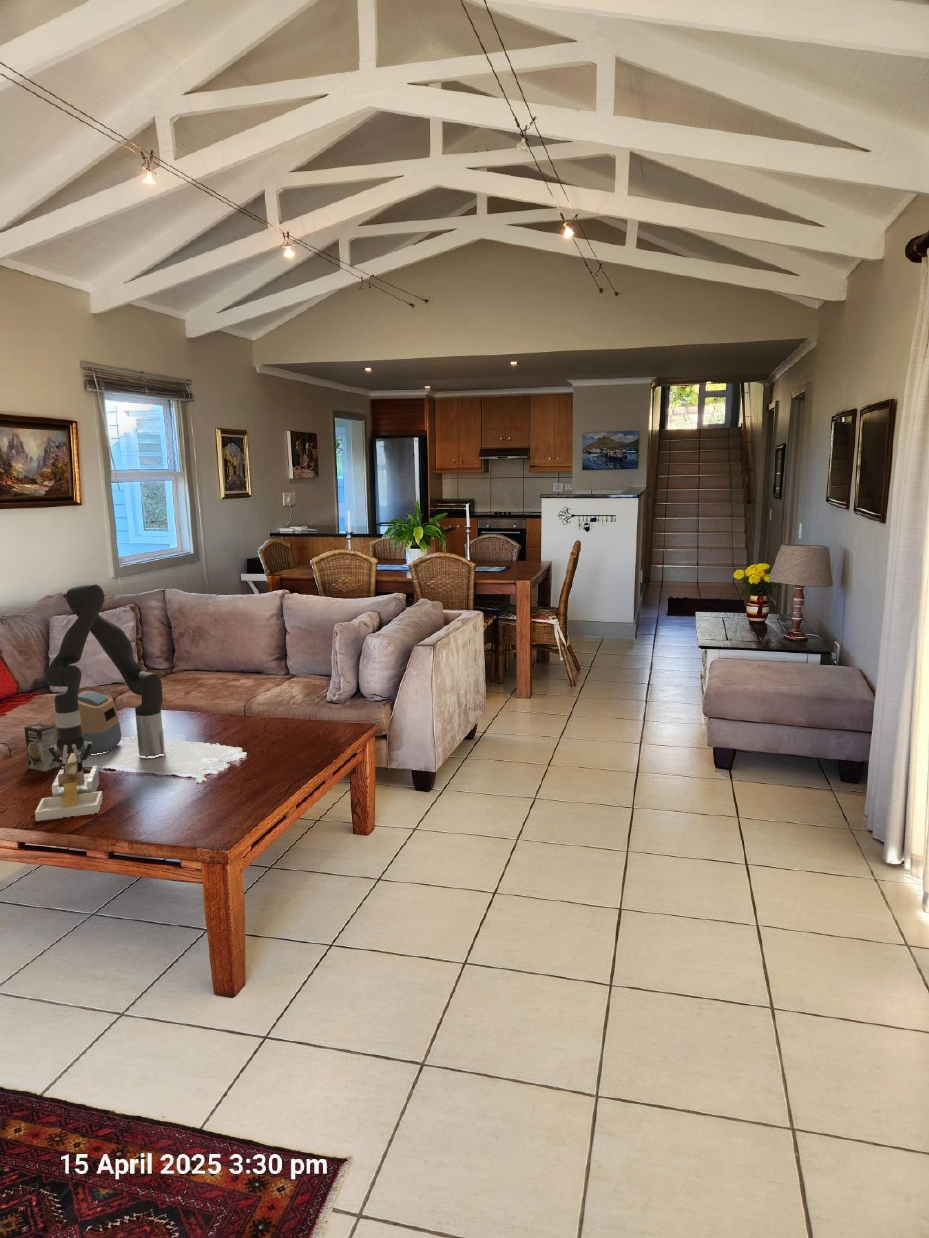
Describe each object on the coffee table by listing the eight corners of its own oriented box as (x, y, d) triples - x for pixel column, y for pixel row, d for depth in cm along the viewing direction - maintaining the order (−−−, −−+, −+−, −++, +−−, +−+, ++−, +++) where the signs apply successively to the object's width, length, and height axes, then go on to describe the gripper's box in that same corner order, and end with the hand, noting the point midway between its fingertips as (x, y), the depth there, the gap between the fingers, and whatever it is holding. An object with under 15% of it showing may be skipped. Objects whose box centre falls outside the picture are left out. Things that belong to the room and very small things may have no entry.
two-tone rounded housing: (106, 757, 309) (101, 699, 305) (64, 757, 310) (58, 699, 306) (125, 743, 326) (120, 688, 322) (85, 743, 326) (79, 688, 322)
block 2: (76, 791, 261) (74, 796, 258) (77, 802, 262) (76, 808, 259) (63, 793, 260) (61, 798, 256) (64, 804, 261) (62, 809, 257)
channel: (99, 782, 282) (97, 765, 281) (93, 799, 267) (91, 781, 266) (61, 787, 278) (60, 769, 277) (53, 804, 263) (51, 785, 262)
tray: (102, 799, 267) (101, 791, 266) (98, 813, 256) (97, 804, 255) (43, 806, 262) (42, 798, 261) (35, 821, 250) (34, 812, 250)
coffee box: (27, 768, 298) (23, 727, 295) (43, 762, 304) (38, 722, 301) (44, 771, 294) (39, 729, 291) (59, 766, 300) (55, 724, 297)
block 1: (79, 789, 265) (78, 778, 265) (77, 793, 262) (76, 782, 261) (66, 791, 264) (65, 779, 264) (64, 795, 260) (63, 783, 260)
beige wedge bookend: (59, 787, 263) (56, 767, 262) (66, 773, 276) (64, 753, 275) (83, 784, 266) (81, 764, 264) (89, 770, 279) (87, 751, 278)
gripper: (93, 718, 272) (97, 766, 275) (47, 722, 268) (52, 771, 271) (89, 724, 265) (94, 773, 268) (43, 729, 261) (48, 779, 264)
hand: (73, 772), depth 270 cm, fingers closed on beige wedge bookend, 3 cm apart
